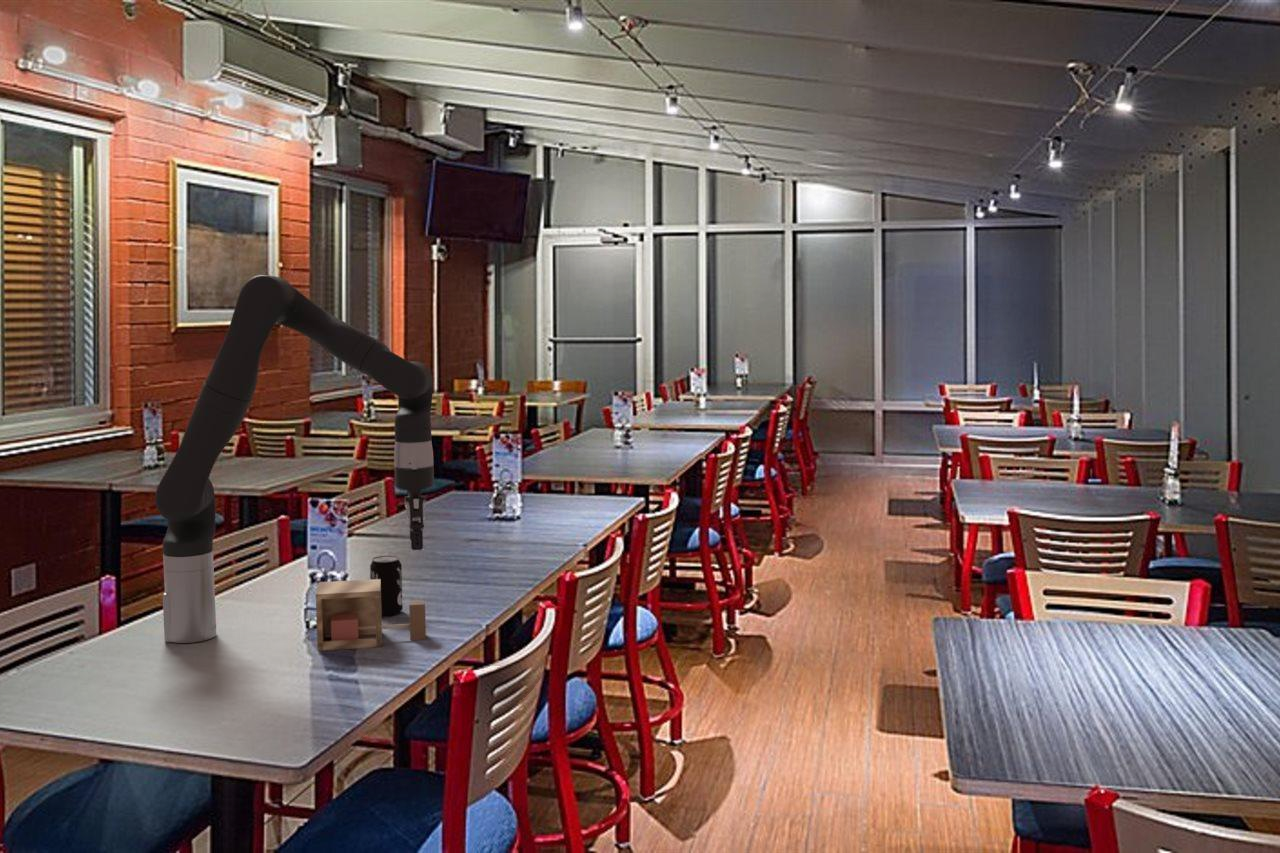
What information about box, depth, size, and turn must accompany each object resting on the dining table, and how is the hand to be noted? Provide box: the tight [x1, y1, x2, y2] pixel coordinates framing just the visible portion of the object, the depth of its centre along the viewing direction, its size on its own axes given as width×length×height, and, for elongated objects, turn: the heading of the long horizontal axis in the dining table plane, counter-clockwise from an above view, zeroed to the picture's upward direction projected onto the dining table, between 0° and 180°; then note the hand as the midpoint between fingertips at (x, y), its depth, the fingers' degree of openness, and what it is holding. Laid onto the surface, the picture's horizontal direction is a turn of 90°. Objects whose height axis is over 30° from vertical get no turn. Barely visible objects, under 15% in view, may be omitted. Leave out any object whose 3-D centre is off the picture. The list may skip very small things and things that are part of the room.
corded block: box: [330, 600, 427, 641], centre depth 229 cm, size 18×5×7 cm, turn 102°
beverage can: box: [369, 554, 404, 617], centre depth 249 cm, size 7×7×12 cm
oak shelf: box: [315, 579, 383, 652], centre depth 228 cm, size 12×10×11 cm
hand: (416, 545), depth 230 cm, fingers open, 8 cm apart
